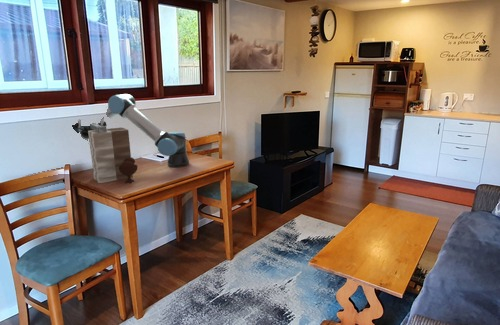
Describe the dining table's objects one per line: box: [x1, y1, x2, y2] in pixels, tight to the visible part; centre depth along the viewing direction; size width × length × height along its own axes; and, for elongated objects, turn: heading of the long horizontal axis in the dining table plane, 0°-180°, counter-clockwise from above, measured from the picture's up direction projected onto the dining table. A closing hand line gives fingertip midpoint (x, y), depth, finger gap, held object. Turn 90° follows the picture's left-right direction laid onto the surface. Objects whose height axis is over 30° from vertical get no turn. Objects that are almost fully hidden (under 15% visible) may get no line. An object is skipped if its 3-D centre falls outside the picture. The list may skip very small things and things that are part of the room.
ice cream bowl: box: [119, 156, 138, 184], centre depth 205 cm, size 11×11×15 cm
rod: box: [90, 123, 107, 133], centre depth 207 cm, size 20×5×3 cm, turn 38°
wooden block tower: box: [88, 127, 134, 184], centre depth 210 cm, size 12×20×30 cm, turn 128°
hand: (92, 120), depth 213 cm, fingers open, 13 cm apart
